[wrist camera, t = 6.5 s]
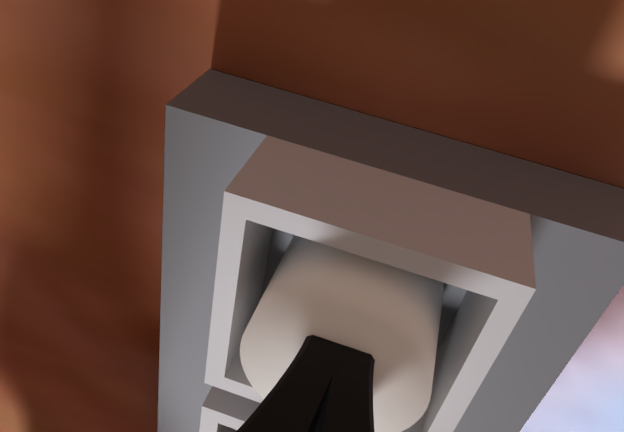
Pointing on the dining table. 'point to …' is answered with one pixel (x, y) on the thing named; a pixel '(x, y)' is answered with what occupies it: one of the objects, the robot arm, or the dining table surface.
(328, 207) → the panel
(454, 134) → the dining table surface
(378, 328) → the knob
